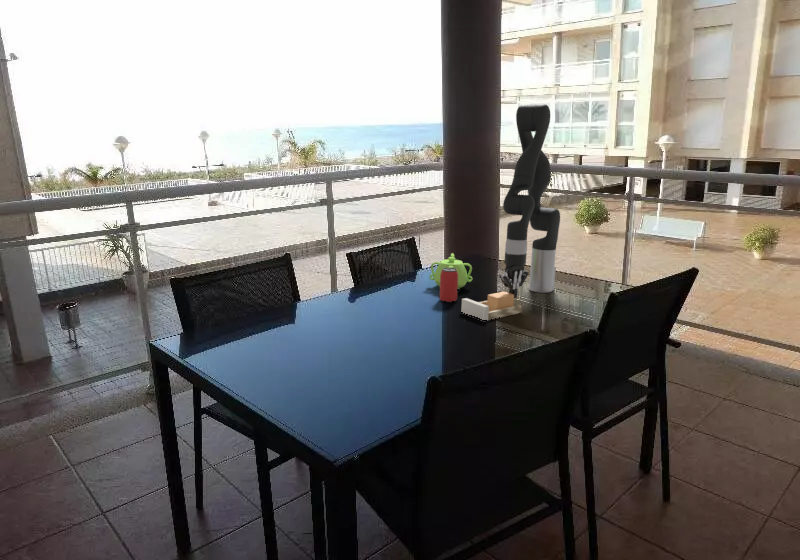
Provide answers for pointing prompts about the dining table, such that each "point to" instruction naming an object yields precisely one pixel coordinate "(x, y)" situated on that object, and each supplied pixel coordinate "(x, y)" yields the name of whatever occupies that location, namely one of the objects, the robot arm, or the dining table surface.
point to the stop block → (475, 309)
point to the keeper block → (500, 301)
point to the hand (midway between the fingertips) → (512, 298)
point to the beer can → (448, 284)
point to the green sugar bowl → (452, 264)
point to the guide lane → (503, 311)
